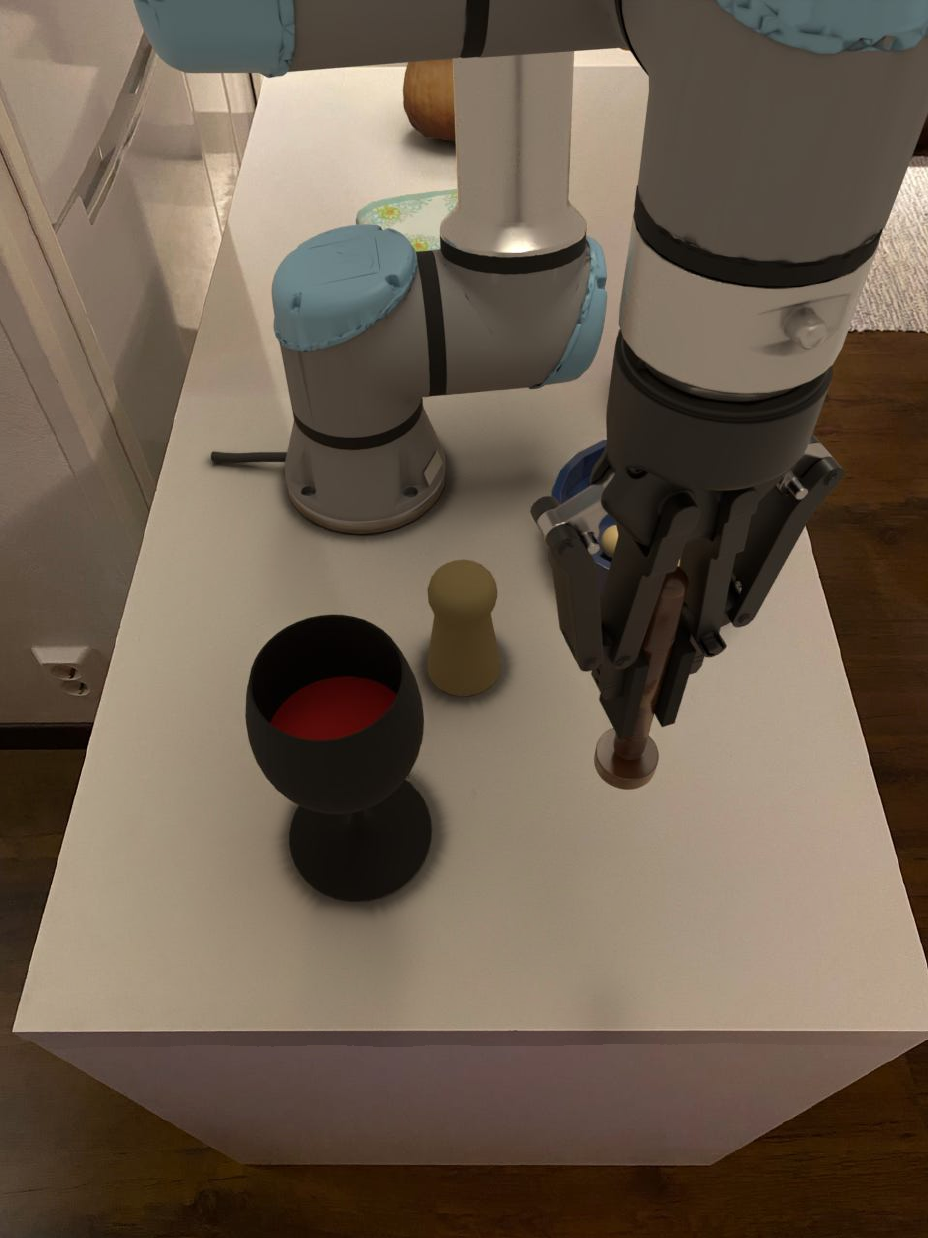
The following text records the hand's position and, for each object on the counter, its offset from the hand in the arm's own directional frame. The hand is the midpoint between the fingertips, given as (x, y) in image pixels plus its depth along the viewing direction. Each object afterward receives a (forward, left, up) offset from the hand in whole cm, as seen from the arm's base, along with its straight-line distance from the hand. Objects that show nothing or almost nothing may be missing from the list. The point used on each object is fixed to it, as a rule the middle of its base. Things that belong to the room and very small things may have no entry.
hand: (636, 711), depth 51 cm
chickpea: (+3, +29, -18) cm, 34 cm away
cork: (-10, +17, -20) cm, 28 cm away
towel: (-12, +77, -20) cm, 80 cm away
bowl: (+6, +30, -20) cm, 36 cm away
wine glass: (-17, +2, -20) cm, 26 cm away
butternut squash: (-14, +109, -20) cm, 112 cm away
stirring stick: (0, 0, -5) cm, 5 cm away
